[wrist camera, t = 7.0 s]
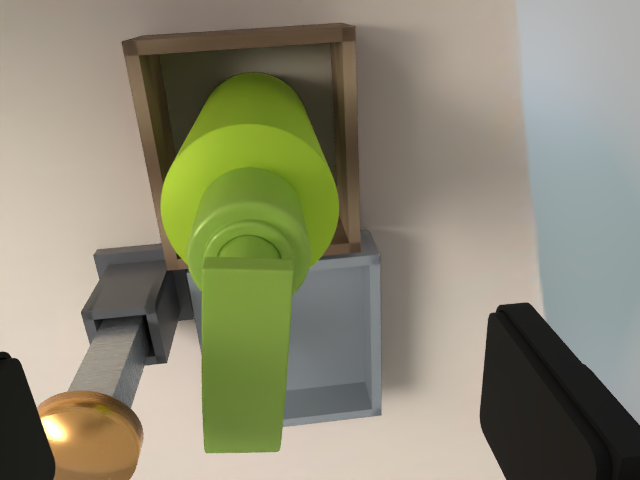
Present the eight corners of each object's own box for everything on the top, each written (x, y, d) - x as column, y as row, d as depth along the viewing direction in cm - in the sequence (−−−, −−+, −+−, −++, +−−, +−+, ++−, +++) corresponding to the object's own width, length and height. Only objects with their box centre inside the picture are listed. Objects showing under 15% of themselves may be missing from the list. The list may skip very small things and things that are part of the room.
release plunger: (97, 262, 30) (-1, 420, 19) (174, 255, 31) (123, 406, 19) (114, 326, 32) (33, 505, 21) (187, 319, 32) (147, 491, 21)
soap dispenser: (201, 192, 30) (116, 471, 12) (201, 68, 28) (87, 193, 10) (302, 197, 31) (360, 466, 13) (311, 76, 28) (400, 207, 10)
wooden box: (142, 35, 27) (121, 41, 23) (341, 23, 27) (355, 26, 23) (179, 235, 31) (167, 270, 27) (348, 220, 32) (360, 252, 28)
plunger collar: (97, 249, 31) (62, 301, 26) (182, 241, 32) (166, 291, 26) (115, 320, 33) (87, 382, 28) (195, 312, 34) (182, 372, 28)
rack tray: (193, 246, 32) (186, 273, 29) (368, 229, 33) (380, 254, 29) (220, 397, 37) (216, 434, 33) (371, 380, 37) (381, 415, 34)
